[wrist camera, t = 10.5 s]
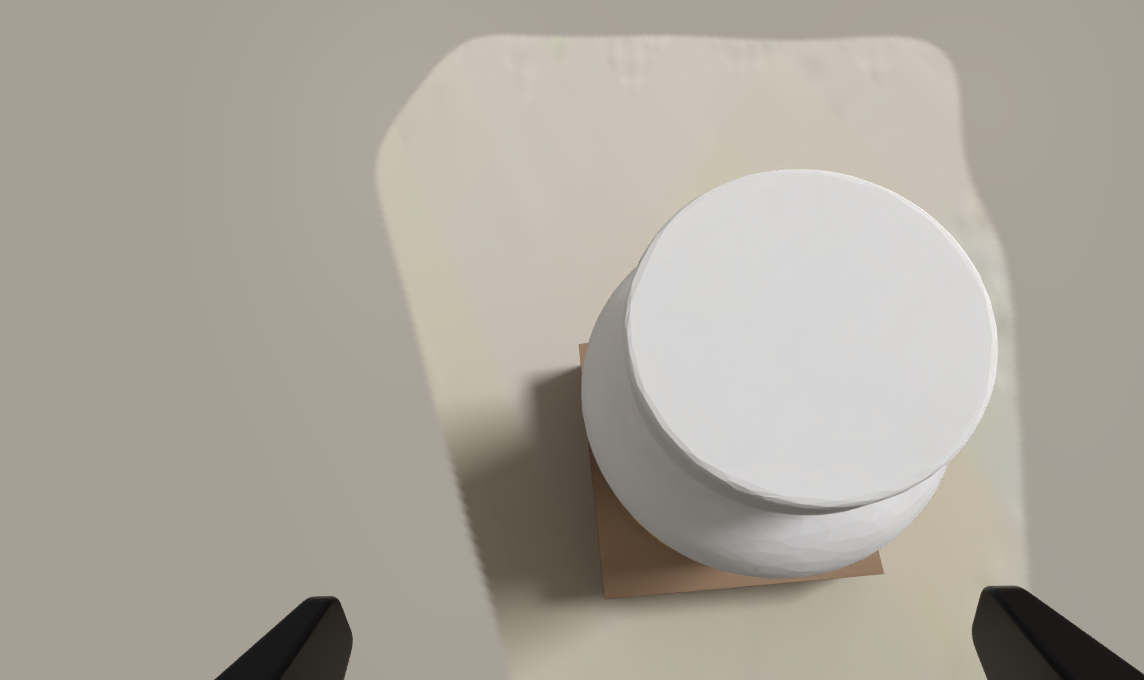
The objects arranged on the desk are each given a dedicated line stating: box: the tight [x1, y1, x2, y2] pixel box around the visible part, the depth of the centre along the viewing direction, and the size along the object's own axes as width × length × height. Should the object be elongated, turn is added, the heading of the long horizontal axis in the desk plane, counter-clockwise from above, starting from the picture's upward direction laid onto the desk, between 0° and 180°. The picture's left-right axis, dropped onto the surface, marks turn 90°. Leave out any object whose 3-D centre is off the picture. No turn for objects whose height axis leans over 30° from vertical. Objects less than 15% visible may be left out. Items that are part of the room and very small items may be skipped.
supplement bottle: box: [581, 169, 998, 579], centre depth 14 cm, size 7×7×13 cm
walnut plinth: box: [579, 343, 884, 599], centre depth 21 cm, size 8×8×2 cm
